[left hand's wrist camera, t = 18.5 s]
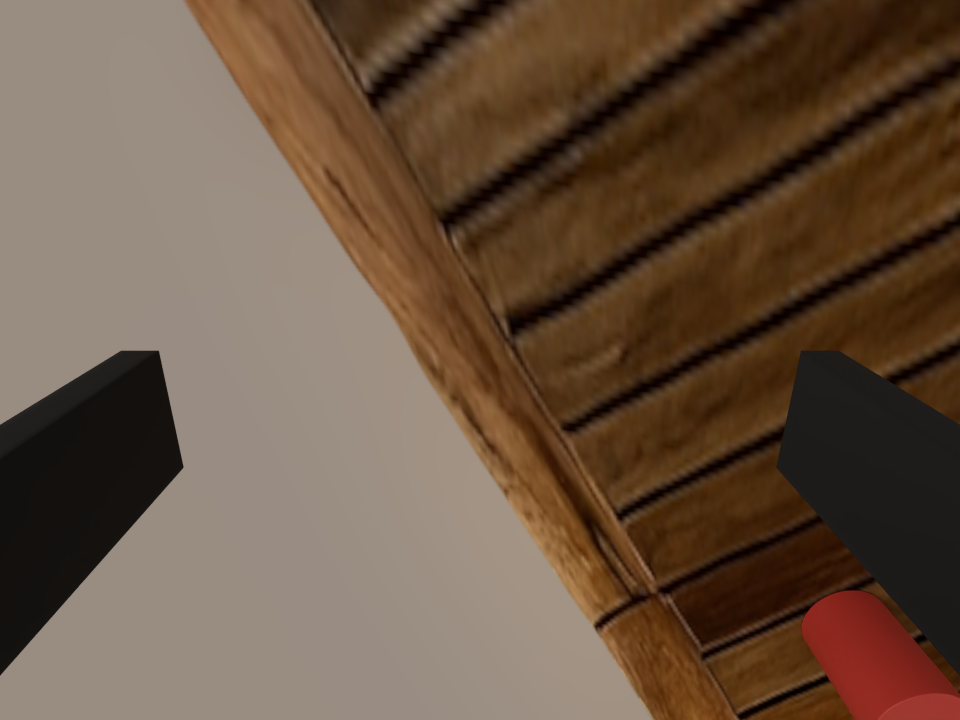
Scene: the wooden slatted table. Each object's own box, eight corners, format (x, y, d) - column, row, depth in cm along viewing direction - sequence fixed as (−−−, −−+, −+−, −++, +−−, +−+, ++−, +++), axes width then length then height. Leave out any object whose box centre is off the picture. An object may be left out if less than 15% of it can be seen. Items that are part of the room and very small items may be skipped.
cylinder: (875, 653, 51) (959, 764, 42) (794, 653, 51) (860, 765, 42) (894, 589, 48) (989, 693, 39) (809, 590, 48) (884, 694, 39)
